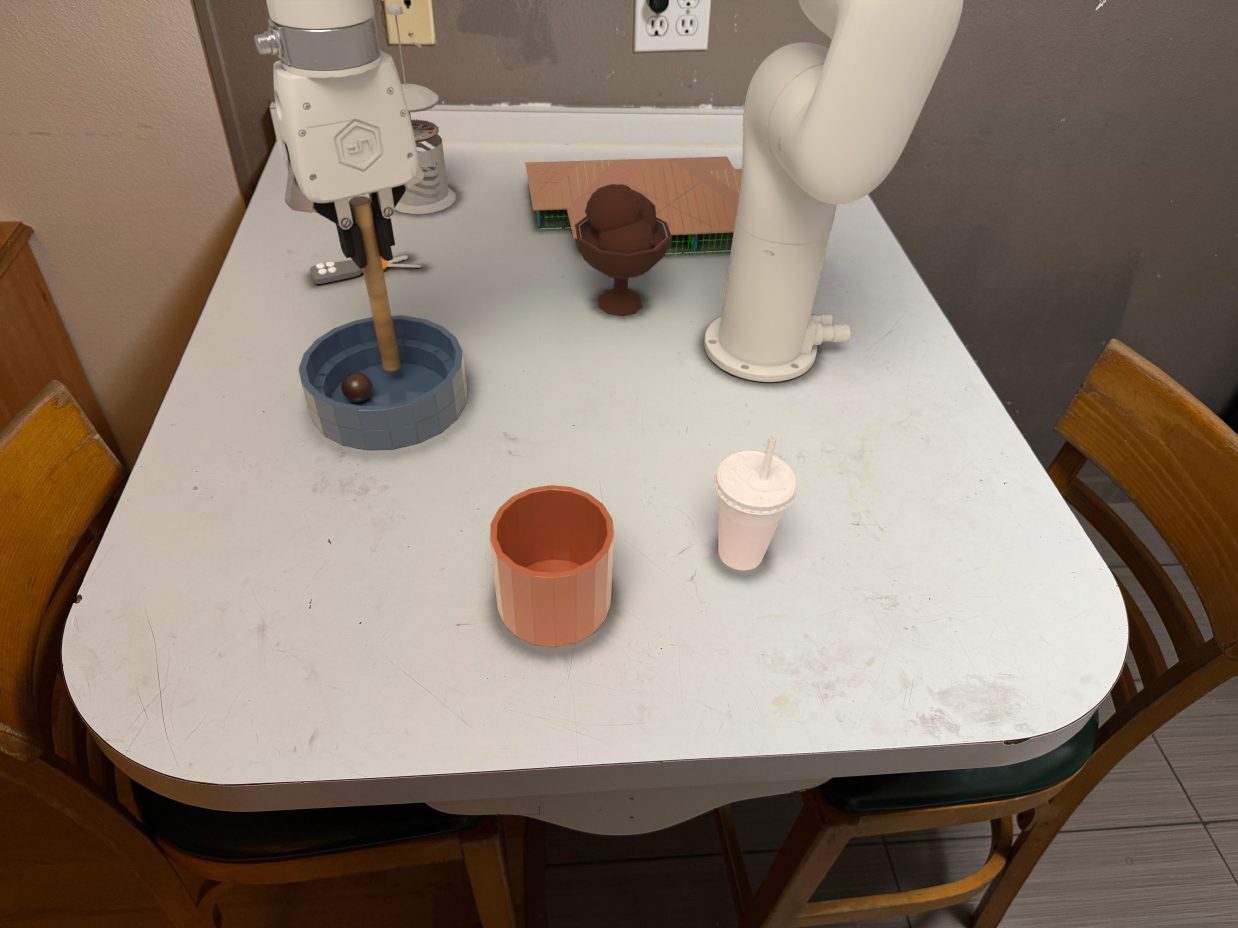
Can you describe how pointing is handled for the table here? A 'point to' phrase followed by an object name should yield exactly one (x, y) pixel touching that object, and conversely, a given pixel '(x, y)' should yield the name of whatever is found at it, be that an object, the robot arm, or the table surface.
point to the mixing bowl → (385, 384)
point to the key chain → (347, 269)
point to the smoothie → (751, 504)
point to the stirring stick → (376, 284)
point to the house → (646, 190)
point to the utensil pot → (552, 564)
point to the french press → (431, 188)
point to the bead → (356, 387)
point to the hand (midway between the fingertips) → (370, 256)
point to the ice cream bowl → (621, 242)
